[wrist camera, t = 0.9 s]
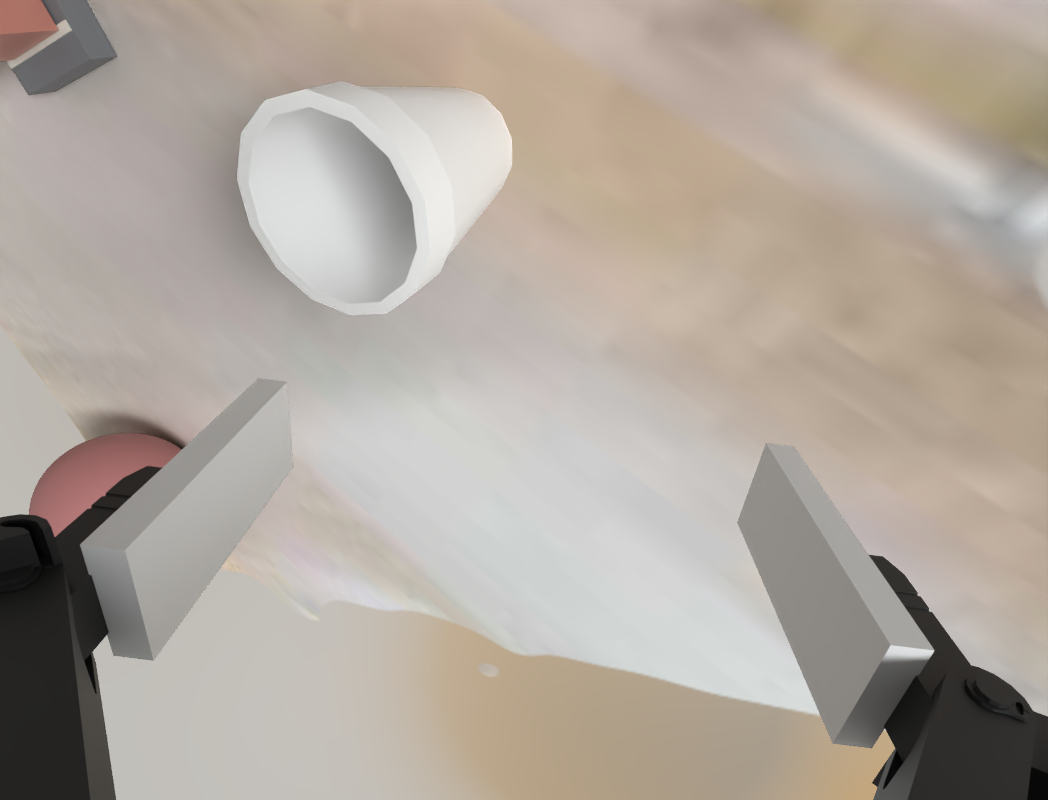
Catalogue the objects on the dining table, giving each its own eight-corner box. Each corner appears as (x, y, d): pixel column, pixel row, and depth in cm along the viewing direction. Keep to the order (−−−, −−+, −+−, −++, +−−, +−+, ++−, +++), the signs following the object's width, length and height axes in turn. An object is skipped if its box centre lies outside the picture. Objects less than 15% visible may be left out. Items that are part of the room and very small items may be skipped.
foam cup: (458, 252, 39) (342, 346, 29) (366, 128, 36) (204, 183, 26) (569, 169, 33) (473, 250, 23) (470, 15, 30) (313, 31, 21)
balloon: (178, 522, 76) (67, 619, 65) (105, 395, 65) (-46, 486, 54) (270, 548, 71) (167, 659, 60) (208, 416, 60) (66, 521, 48)
